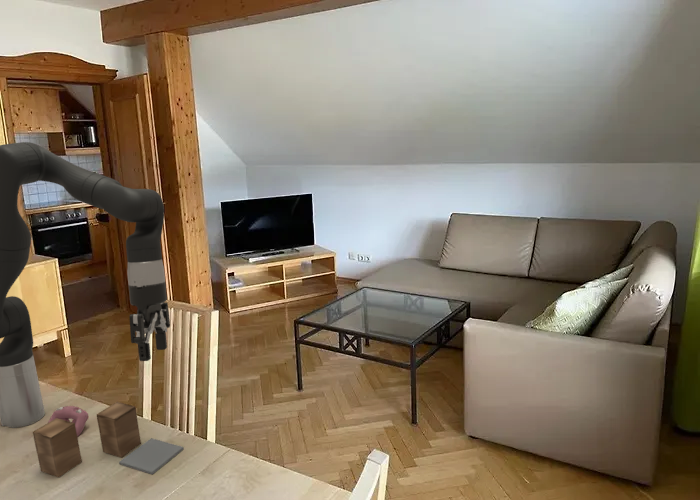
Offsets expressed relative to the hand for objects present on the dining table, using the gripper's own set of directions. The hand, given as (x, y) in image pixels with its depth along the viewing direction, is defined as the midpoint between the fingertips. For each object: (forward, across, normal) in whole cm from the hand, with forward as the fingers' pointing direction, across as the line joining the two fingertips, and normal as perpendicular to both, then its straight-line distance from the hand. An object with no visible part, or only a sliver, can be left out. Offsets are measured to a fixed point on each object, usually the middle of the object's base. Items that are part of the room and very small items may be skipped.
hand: (153, 354), depth 120 cm
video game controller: (+23, -15, -31) cm, 42 cm away
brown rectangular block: (+24, -8, -14) cm, 29 cm away
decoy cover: (+25, -1, -24) cm, 35 cm away
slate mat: (+25, -4, -5) cm, 26 cm away
